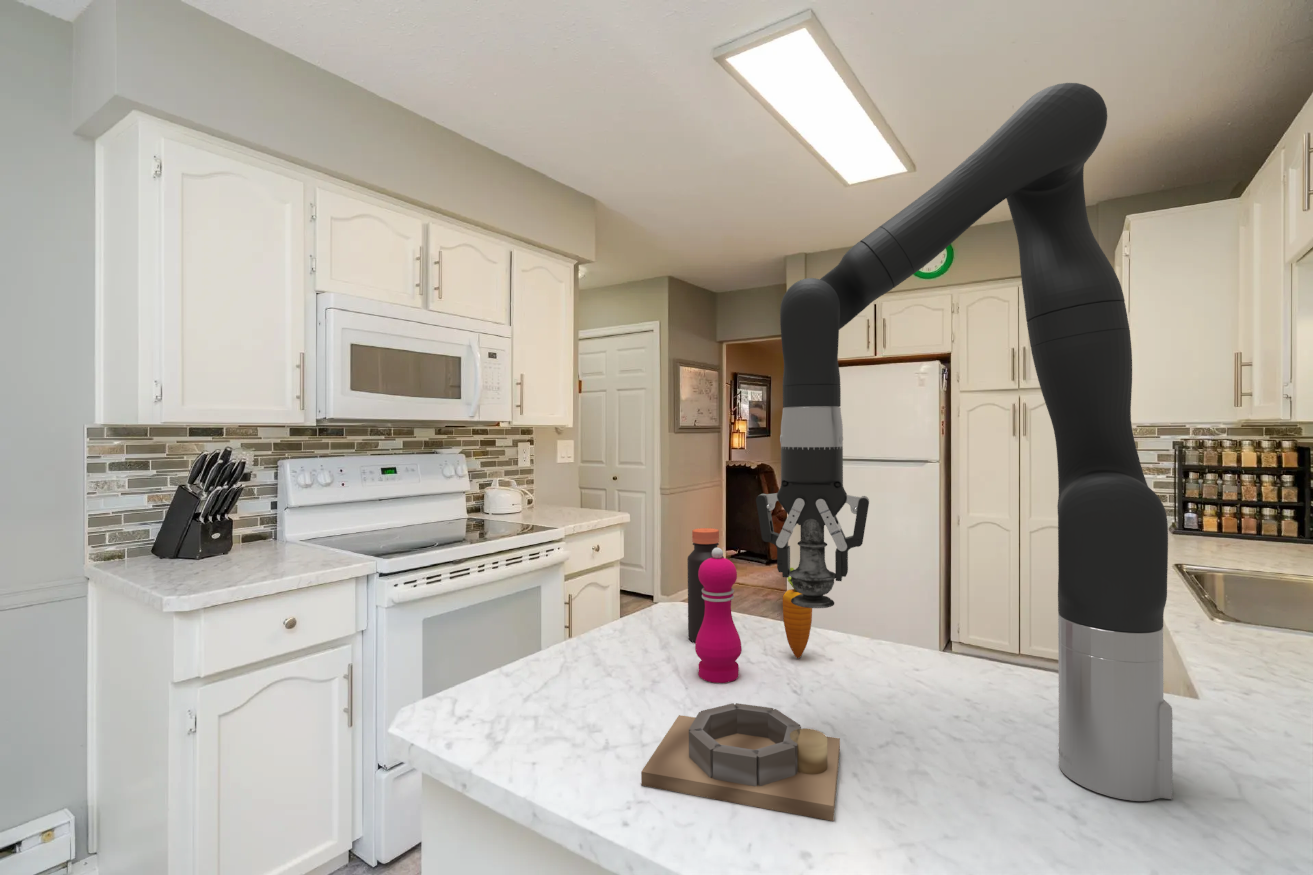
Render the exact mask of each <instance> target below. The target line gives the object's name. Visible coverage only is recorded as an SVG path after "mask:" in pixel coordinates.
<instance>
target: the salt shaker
mask: <svg viewBox="0 0 1313 875" xmlns="http://www.w3.org/2000/svg"><path fill="white" fill-rule="evenodd" d="M797 545H798V546H799V563H798V567H796V568H794V570H792V571H790V572H789V577H791V582H792V584H793V587H794V588H795V589H796V590H797V591H798V592H799V593H801V594H800V595H797V596H795V597H794V598H792V599H791V602H792V603H793V604H794V605H797V606H801V607H806V608H812V609H827V608H831V607H833V606H835V601H834V600H833V599H832V598H831V597H829V596H826V595H827V594H828V593H830V592H831V591H832V589H833V587H834V585H835V580H836V576H835V572H833V571H830V570H829V569H828V568H827V567H828V566H827V564H826V551H825V550H826V547H827V546H828V543H827V542H825V525H824V526H819V523H818V522H817V521H816V520H814V519H808V520H806V521H805V522H804V525H800V541H798V542H797ZM793 587H792V588H793ZM794 588H793V589H794Z"/></svg>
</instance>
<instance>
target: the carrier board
mask: <svg viewBox="0 0 1313 875" xmlns="http://www.w3.org/2000/svg"><path fill="white" fill-rule="evenodd" d="M840 757H841V738H840V737H833V736H827V735H826V734H824V733H823V732H821V731H819V730H817V729H815V728H814V729H813V728H805V727H804V728H803V727H802V725H801V724H800V723H799V722H797V721H795V720H793V719H792V718H790V717H789V716H787V715H786V714H784V713H783V712H781V711H780V710H778V709H777V708H775V709H774V708H773V707H767V706H762V705H753V704H746V703H739V702H738V703H737V702H736V703H729V704H725V705H720V706H716V707H713V708H712V707H711V708H708V709H702V710H701V711H699V712H698V714H697V715H696V717H693V716H688V715H681V714H678V716H677V717H676V719H675V720H674V721H673V723H672V725H671V726H670V728H669V729H668V731H667V733H665V736H664V737H663V738H662V740H661V741H660V743H659V745H657V747H656V749H655V751H654V752H653V753H652V754H651V756H650V758H649V759H648V761H647V762H646V764H645V765H644V766H643V768H642V770H641V773H640V774H641V775H640V776H641V779H640V780H641V783H640V784H641V786H643V787H648V788H654V789H659V790H664V791H671V792H674V793H675V792H676V793H679V794H685V795H691V796H696V797H702V798H707V799H712V800H716V801H722V802H723V801H724V802H728V803H734V804H739V805H745V806H749V807H755V808H759V809H760V808H761V809H766V810H771V811H776V812H781V813H786V814H792V815H798V816H804V817H808V818H814V819H820V820H826V821H830V822H834V821H835V810H836V809H835V808H836V800H837V789H838V788H837V787H838V777H839V766H840Z"/></svg>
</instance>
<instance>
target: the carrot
mask: <svg viewBox="0 0 1313 875" xmlns="http://www.w3.org/2000/svg"><path fill="white" fill-rule="evenodd" d="M792 570H795V568H794V567H790V571H792ZM787 582H788V583H789V584H790V586H791V587H792V588H793V589H787V590H786V591H785V593H784V594H783V596H782V615H783V616H782V618H783V625H784V631H785V632H784V633H785V635H786V639H787V643H788V645H789V648H790V650H791V652H792V654H793V656H794V657H795V658H796V659H798V660H799V659H800V658H801V657H802V655H803V654H804V651H805V649H806V648H807V645H808V642H809V639H810V635H811V630H812V629H811V628H812V621H813V608H806V607H801V606H797V605H794V604H793V603H792V602H791V599H792V598H794V597H795V596H797V595H800V594H801V593H799V592H798V591H797V590H796V589H795V588H794V587H793V584H792V582H791V576H789V577H788V578H787Z"/></svg>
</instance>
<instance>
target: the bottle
mask: <svg viewBox="0 0 1313 875" xmlns="http://www.w3.org/2000/svg"><path fill="white" fill-rule="evenodd" d="M691 535H692V537H691V538H692V539H691V540H692V545H693V550H692V551H691V552H690V554H689V555H688V556H687V627H688V628H687V630H688V631H687V633H688V634H687V637H688V639H689V641H691V642H693V643H696V638H697V634H698V632H699V630H700V627H701V625H702V622H703V619H704V614H705V600H704V599H703V598H702V593H703V592H702V589H703V588H704V586H703V585H702V584H701V582H700V581H699V577H698V572H699V568H700V565H701V564H702V563H703V562H704V561H705V560H707V559H709V558H713V556H712V550H713V549H714V548H718V546H719V545H720V544H719V542H720V530H719V529H718V528H717V529H716V528H712V527H711V528H710V527H709V528H708V527H704V528H703V527H702V528H700V527H699V528H694V529H692V533H691ZM722 558H725V557H724V555H723V556H722Z"/></svg>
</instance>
